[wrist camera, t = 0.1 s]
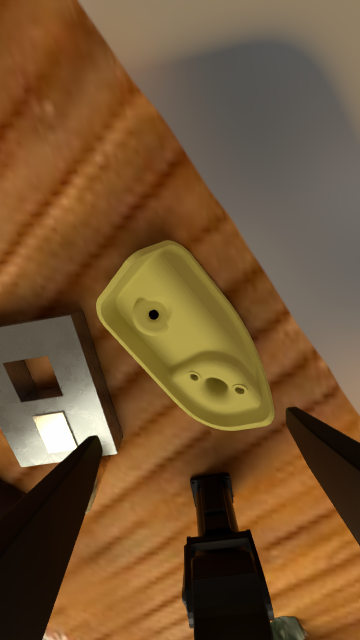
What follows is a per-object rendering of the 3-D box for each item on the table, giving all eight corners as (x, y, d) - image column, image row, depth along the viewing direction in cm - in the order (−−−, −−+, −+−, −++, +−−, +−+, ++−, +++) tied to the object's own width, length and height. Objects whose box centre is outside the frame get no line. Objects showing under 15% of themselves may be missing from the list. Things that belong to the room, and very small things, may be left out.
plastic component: (89, 310, 19) (138, 242, 13) (130, 289, 26) (177, 236, 20) (205, 434, 22) (289, 423, 16) (217, 388, 28) (281, 367, 22)
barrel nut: (112, 464, 28) (95, 513, 22) (88, 467, 28) (65, 517, 22) (105, 445, 27) (85, 491, 21) (80, 448, 27) (54, 495, 21)
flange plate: (122, 437, 27) (116, 455, 24) (35, 449, 27) (20, 468, 25) (82, 310, 22) (69, 315, 19) (-24, 328, 22) (-51, 336, 20)
